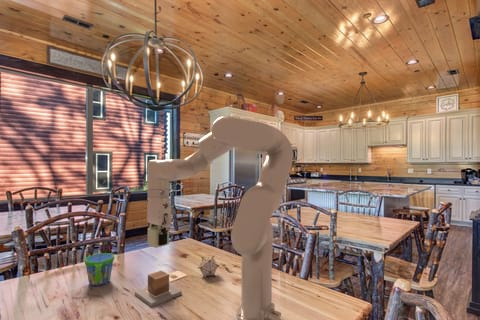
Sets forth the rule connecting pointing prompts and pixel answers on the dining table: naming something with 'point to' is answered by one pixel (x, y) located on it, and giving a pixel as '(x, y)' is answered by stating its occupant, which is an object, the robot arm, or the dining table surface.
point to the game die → (208, 266)
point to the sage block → (155, 237)
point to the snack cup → (99, 268)
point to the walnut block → (158, 283)
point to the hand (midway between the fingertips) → (158, 242)
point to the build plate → (156, 300)
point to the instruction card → (176, 276)
